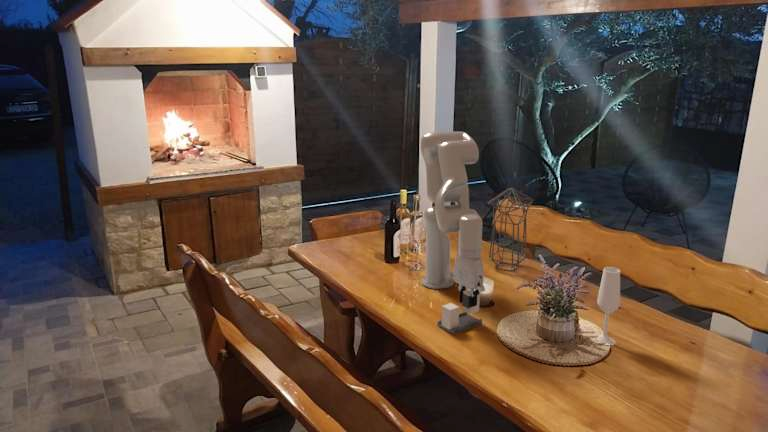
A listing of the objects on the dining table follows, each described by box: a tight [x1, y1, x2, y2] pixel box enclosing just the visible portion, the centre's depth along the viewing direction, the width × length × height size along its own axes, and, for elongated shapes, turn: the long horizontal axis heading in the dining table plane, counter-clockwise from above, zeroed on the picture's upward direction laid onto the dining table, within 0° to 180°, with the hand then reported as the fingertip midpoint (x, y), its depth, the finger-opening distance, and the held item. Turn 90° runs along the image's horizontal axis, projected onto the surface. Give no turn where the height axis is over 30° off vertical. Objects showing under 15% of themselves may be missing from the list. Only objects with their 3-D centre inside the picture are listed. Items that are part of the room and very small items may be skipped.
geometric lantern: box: [486, 187, 535, 272], centre depth 243 cm, size 16×16×35 cm
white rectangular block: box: [461, 288, 481, 315], centre depth 196 cm, size 5×4×7 cm
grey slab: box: [437, 311, 483, 336], centre depth 195 cm, size 13×8×2 cm, turn 127°
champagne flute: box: [596, 266, 621, 347], centre depth 181 cm, size 7×7×24 cm
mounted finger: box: [441, 302, 460, 330], centre depth 192 cm, size 5×4×7 cm
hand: (468, 303), depth 195 cm, fingers closed on white rectangular block, 3 cm apart
